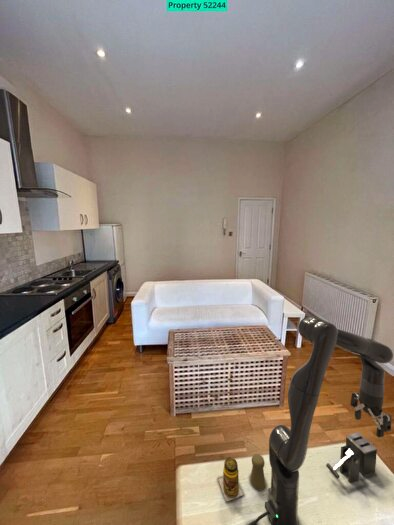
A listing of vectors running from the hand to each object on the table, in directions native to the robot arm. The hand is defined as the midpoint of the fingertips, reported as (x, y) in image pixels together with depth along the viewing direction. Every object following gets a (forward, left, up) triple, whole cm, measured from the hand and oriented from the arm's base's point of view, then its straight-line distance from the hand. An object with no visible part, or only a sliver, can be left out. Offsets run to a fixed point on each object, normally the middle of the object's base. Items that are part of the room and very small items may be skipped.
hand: (368, 427), depth 88 cm
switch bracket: (-5, +3, -25) cm, 26 cm away
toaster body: (+4, +5, -25) cm, 26 cm away
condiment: (-55, +13, -25) cm, 62 cm away
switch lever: (-8, +3, -17) cm, 19 cm away
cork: (-43, +12, -25) cm, 51 cm away
